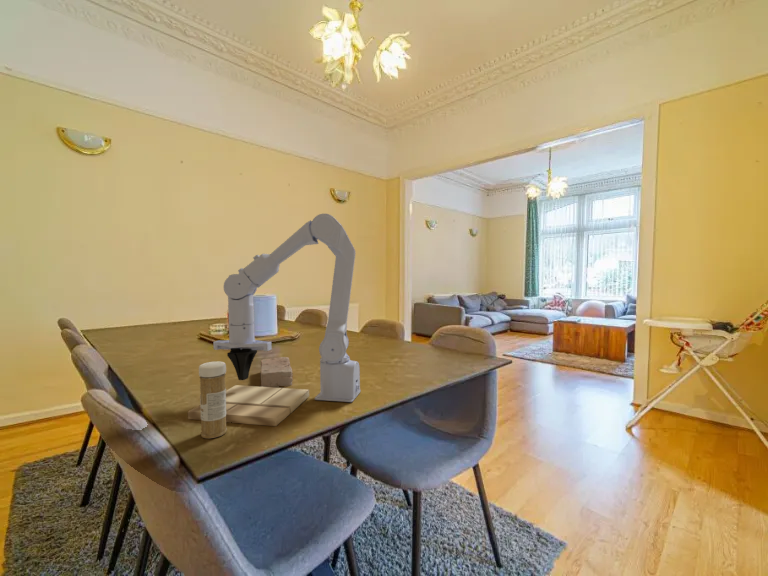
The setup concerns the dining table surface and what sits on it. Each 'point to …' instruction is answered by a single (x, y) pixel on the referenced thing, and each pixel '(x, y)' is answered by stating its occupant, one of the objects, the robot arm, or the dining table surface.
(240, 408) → the floor row
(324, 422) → the dining table surface
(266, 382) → the brick
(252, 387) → the plank
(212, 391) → the sprinkles bottle
